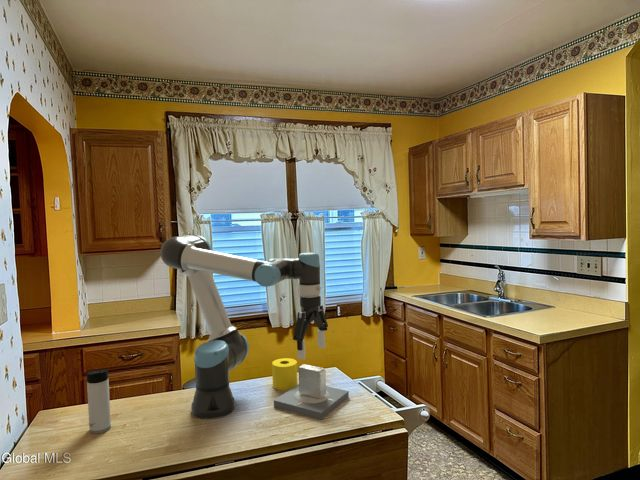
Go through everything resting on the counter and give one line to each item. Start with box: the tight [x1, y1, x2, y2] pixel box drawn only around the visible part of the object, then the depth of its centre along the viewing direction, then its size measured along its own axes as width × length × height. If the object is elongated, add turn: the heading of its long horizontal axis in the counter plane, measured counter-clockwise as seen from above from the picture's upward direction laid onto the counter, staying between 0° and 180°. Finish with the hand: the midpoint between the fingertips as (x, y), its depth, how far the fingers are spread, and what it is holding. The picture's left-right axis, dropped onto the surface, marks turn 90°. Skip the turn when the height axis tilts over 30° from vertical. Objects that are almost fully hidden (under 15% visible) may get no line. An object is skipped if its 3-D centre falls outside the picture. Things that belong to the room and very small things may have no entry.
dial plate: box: [273, 384, 350, 421], centre depth 159 cm, size 20×20×3 cm
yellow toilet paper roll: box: [271, 357, 298, 391], centre depth 175 cm, size 10×10×9 cm
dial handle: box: [298, 363, 327, 399], centre depth 159 cm, size 9×4×10 cm, turn 59°
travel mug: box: [86, 368, 112, 435], centre depth 141 cm, size 6×7×20 cm
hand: (311, 352), depth 158 cm, fingers open, 13 cm apart
